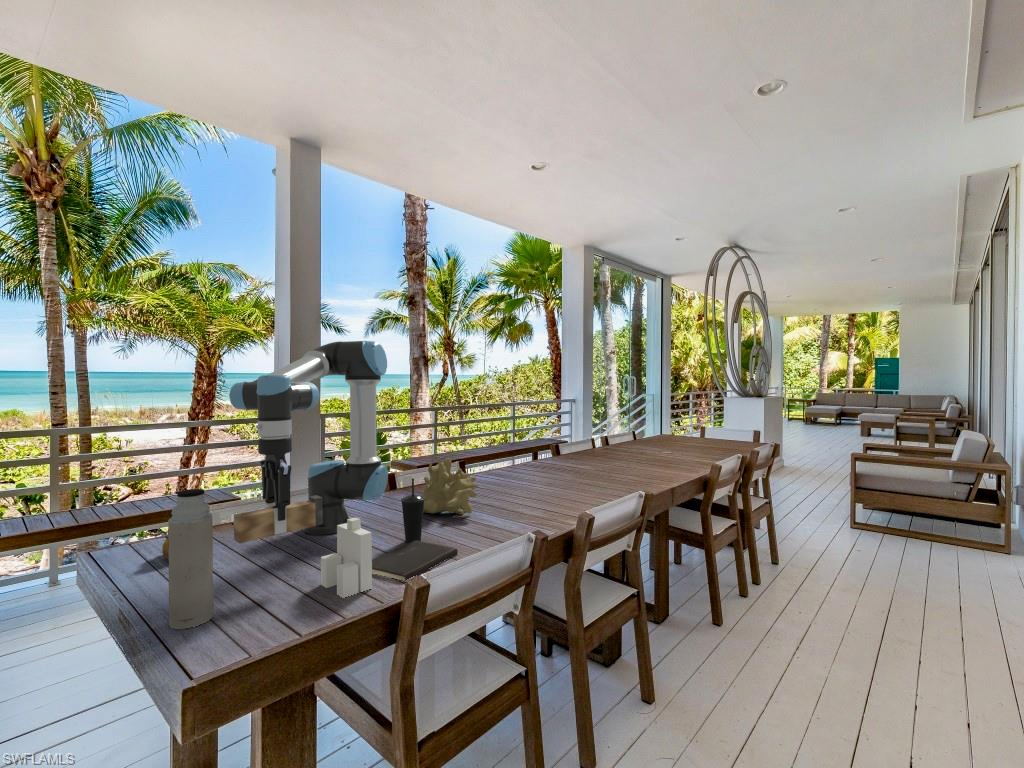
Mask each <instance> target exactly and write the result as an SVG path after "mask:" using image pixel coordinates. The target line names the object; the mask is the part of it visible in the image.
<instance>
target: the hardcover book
mask: <svg viewBox="0 0 1024 768" xmlns="http://www.w3.org/2000/svg"><path fill="white" fill-rule="evenodd" d="M458 552H459V551H458V548H456V547H453V546H452V547H451V546H448V545H441V544H436V543H431V542H427V541H422V540H421V541H417V540H415V541H413V542H410V543H406V544H404V545H401V546H399V547H397V548H395V549H393V550H390V551H388V552H386V553H383V554H381V555H379V556H377V557H375V558H373V559H372V573H373V574H372V575H375V574H378V575H377V576H379V575H382V576H381V577H383V576H386V577H385V578H387V577H390V578H389V579H391V578H395V579H400V580H404V581H406V580H407V579H409V578H411V577H413V576H416V575H419V574H421V573H423V572H424V573H426V572H428V571H429V570H428V569H429V568H431V567H434V566H435V565H437V564H439V563H440V562H442V561H444V560H446V559H448V558H450V557H452V556H454V555H456V554H457V553H458ZM458 554H459V553H458ZM458 554H457V555H458ZM457 555H456V556H457ZM454 557H455V556H454ZM452 558H453V557H452ZM450 559H451V558H450ZM448 560H449V559H448ZM446 561H447V560H446ZM439 565H440V564H439ZM437 566H438V565H437ZM435 567H436V566H435ZM435 567H434V568H435ZM432 569H433V568H431V569H430V570H432ZM425 571H426V572H425ZM424 573H423V574H424ZM421 575H422V574H421ZM419 576H420V575H419ZM395 579H394V580H395Z"/></svg>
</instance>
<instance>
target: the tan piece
mask: <svg viewBox="0 0 1024 768" xmlns="http://www.w3.org/2000/svg"><path fill="white" fill-rule="evenodd" d="M321 524H323V510H322V497H320V496H317V495H315V496H310V497H309V500H303V501H297V502H292V503H291V502H290V505H287V506H286V525H287V532H285V533H281V534H280V535H283V534H286V533H290V532H294V531H295V532H296V531H301V530H303V529H305V528H309V527H313V526H316V525H321ZM278 535H279V534H276V535H275V534H274V509H273V508H272V507H270V508H260V509H256V510H249V511H245V512H239V513H234V514H233V540H234V541H235V542H237V543H238V544H244V543H247V542H251V541H257V540H261V539H264V538H268V537H273V536H278Z"/></svg>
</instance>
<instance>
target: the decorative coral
mask: <svg viewBox="0 0 1024 768" xmlns="http://www.w3.org/2000/svg"><path fill="white" fill-rule="evenodd" d="M452 459H453V458H452V457H448V458H446V459H445V460H444V461H442V462H441V461H439V462H438V463H437V464H436V465H435V466H434V467H433V463H429V464H428V465H429V466H428V468H427V471H428V473H429V477H428V476H425V477H424V478H423V481H424V486H423V487H424V488H423V493H422V495H421V496H423V497H425V500H424V510H423V514H436V513H441V512H442V513H443V512H447V513H454V514H458V515H461V516H463V515H464V514H465V513H467V514H472V513H473V506H472V505H471V504H470V502H469V499H470V498H474V499H475V498H476V497H477V493H476V492H475V491H474V489H477V488H478V487H479V484H478V483H474V482H475V481H476V480H477V479H478V478H477V477H476V476H472V477H470V476H471V474H470V473H468V472H464V471H463V469H462V468H458V470H457V472H454V473H453V472H452V471H451V468H452Z"/></svg>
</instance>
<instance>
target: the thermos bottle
mask: <svg viewBox="0 0 1024 768" xmlns="http://www.w3.org/2000/svg"><path fill="white" fill-rule="evenodd" d="M176 494H177V495H176V496H177V498H176V505H175V506H173V507H172V509H171V513H170V514H171V515H172V517H170V518H168V521H167V522H168V524H167V525H168V527H167V531H168V535H167V538H168V545H169V560H168V607H169V608H168V611H169V612H168V613H169V615H168V616H169V617H168V619H169V623H168V625H170V626H169V627H170V628H171V629H173V628H174V629H173V630H186V629H185V628H189V629H191V628H190V627H193V628H195V627H194V626H197V625H200V624H202V625H204V624H203V623H205V622H207V621H208V622H210V621H211V620H212V619H213V618H214V581H213V580H214V577H213V575H214V543H213V541H214V538H213V536H214V533H213V532H214V531H213V529H214V528H213V524H214V523H213V522H214V521H213V513H212V512H210V508H211V507H210V505H209V503H207V502H205V496H204V494H205V489H202V488H190V489H184V490H180V491H177V493H176ZM212 617H213V618H212ZM211 618H212V619H211ZM210 619H211V620H210ZM209 620H210V621H209ZM208 622H207V623H208ZM205 624H206V623H205ZM200 626H201V625H200ZM197 627H198V626H197Z"/></svg>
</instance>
